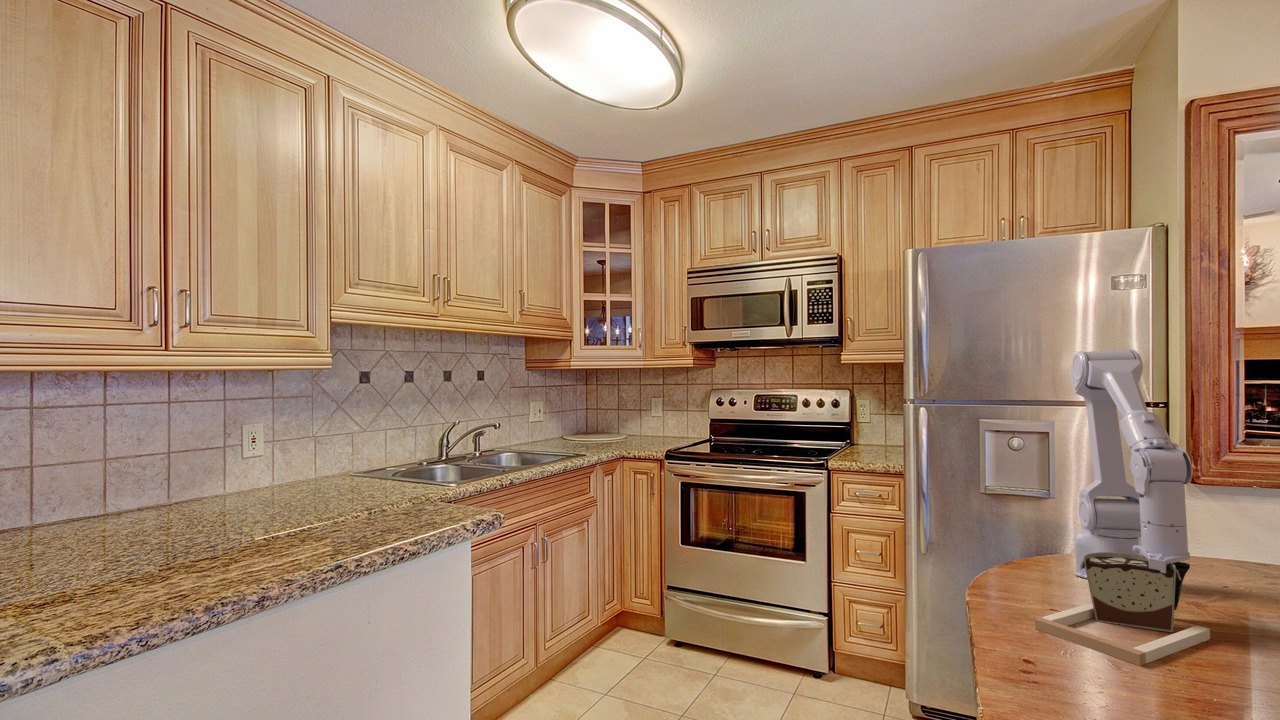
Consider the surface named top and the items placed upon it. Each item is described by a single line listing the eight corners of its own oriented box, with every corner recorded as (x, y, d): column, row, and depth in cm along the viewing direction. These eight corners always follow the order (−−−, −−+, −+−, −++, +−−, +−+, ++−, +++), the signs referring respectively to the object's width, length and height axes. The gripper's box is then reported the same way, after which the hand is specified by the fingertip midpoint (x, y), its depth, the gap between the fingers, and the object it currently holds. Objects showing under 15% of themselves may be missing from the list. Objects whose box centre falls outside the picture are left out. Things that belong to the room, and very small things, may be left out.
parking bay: (1035, 628, 95) (1034, 619, 95) (1105, 608, 102) (1104, 599, 103) (1139, 665, 82) (1139, 654, 82) (1210, 639, 90) (1209, 628, 90)
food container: (1179, 620, 96) (1173, 556, 97) (1186, 634, 91) (1180, 566, 92) (1083, 607, 103) (1078, 548, 104) (1084, 619, 98) (1079, 556, 99)
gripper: (1140, 512, 106) (1144, 590, 106) (1122, 526, 96) (1127, 613, 96) (1194, 518, 101) (1199, 601, 100) (1181, 534, 91) (1186, 625, 91)
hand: (1167, 607), depth 98 cm, fingers closed
